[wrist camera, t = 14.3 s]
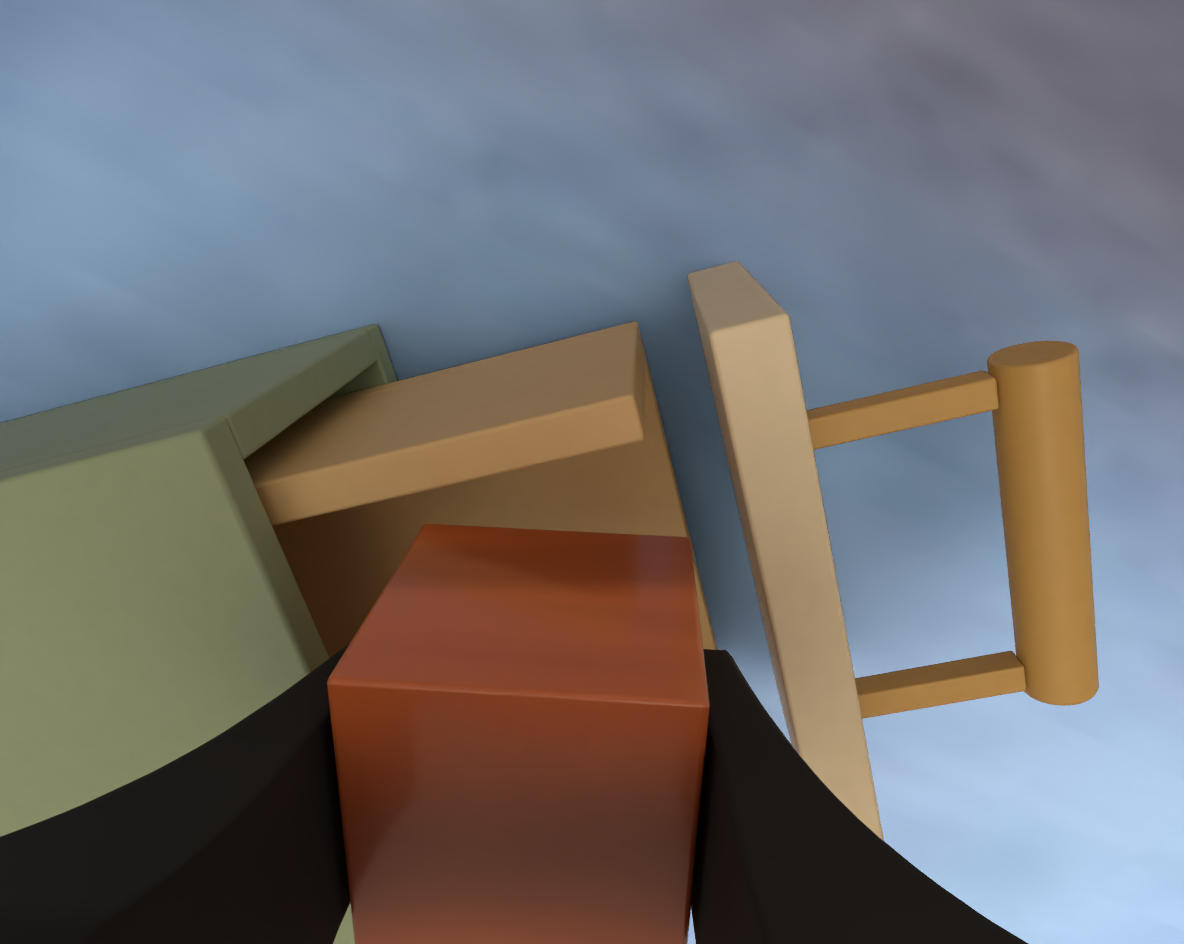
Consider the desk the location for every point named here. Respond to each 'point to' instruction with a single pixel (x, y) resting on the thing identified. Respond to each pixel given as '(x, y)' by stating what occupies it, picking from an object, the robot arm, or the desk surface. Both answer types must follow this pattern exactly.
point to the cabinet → (151, 573)
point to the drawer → (653, 504)
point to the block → (524, 741)
